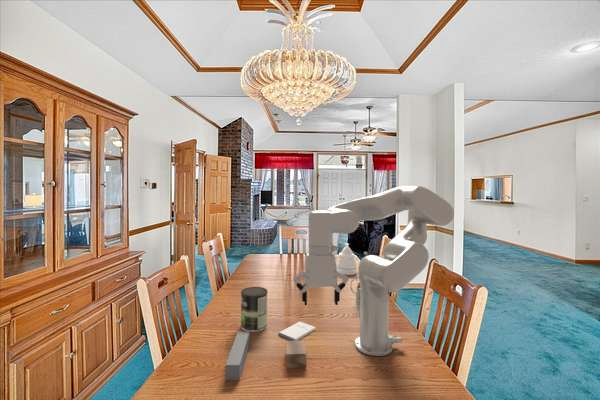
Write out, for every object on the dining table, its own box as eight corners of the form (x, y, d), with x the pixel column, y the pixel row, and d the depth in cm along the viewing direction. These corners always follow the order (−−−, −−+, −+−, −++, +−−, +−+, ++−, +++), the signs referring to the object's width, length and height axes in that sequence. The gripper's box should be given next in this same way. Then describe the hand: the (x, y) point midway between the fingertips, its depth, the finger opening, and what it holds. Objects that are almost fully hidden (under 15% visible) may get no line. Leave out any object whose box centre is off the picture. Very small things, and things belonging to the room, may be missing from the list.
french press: (376, 309, 139) (377, 254, 138) (349, 307, 141) (350, 253, 140) (375, 301, 149) (376, 250, 148) (350, 299, 151) (351, 249, 150)
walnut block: (304, 353, 102) (304, 340, 102) (306, 368, 94) (306, 353, 94) (285, 354, 102) (286, 341, 102) (286, 368, 94) (286, 354, 94)
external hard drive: (278, 336, 115) (299, 324, 125) (295, 343, 110) (315, 331, 119) (278, 332, 115) (299, 320, 125) (295, 339, 110) (316, 326, 119)
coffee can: (244, 334, 115) (244, 297, 114) (238, 323, 125) (238, 288, 124) (270, 329, 119) (271, 293, 118) (263, 318, 129) (263, 285, 128)
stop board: (249, 344, 108) (249, 331, 108) (239, 380, 88) (239, 364, 88) (237, 344, 108) (237, 331, 108) (225, 380, 88) (225, 364, 88)
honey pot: (336, 268, 207) (337, 242, 206) (356, 269, 205) (356, 242, 205) (336, 274, 195) (336, 245, 194) (357, 275, 193) (357, 246, 192)
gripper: (346, 247, 101) (346, 298, 102) (293, 247, 101) (293, 299, 102) (350, 252, 93) (350, 308, 94) (292, 252, 93) (293, 308, 94)
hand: (320, 303), depth 98 cm, fingers open, 9 cm apart
